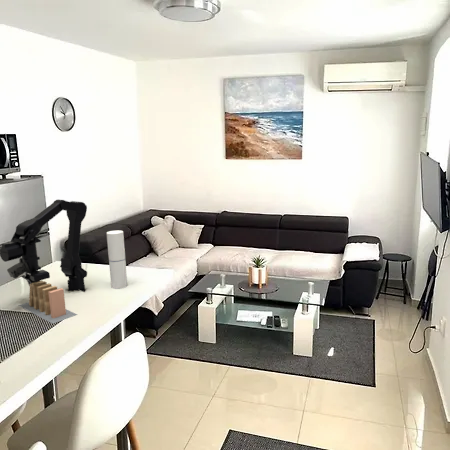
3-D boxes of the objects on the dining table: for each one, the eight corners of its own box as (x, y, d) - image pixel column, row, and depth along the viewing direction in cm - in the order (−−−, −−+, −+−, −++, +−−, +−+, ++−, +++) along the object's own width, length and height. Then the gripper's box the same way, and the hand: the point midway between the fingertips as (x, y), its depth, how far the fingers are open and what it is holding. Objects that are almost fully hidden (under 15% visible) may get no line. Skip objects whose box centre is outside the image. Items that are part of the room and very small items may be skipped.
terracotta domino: (51, 317, 164) (48, 291, 162) (63, 312, 167) (61, 288, 165) (53, 318, 163) (50, 292, 160) (66, 314, 166) (63, 289, 164)
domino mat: (18, 307, 176) (18, 305, 176) (42, 299, 184) (42, 297, 184) (52, 325, 158) (52, 323, 158) (77, 316, 166) (77, 314, 165)
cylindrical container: (113, 289, 193) (108, 234, 188) (109, 285, 199) (104, 231, 194) (129, 286, 196) (125, 232, 191) (125, 282, 203) (120, 229, 197)
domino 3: (39, 311, 170) (36, 286, 167) (51, 307, 173) (49, 283, 171) (41, 312, 168) (38, 287, 166) (54, 308, 172) (51, 284, 170)
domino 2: (34, 308, 172) (32, 284, 170) (46, 304, 176) (44, 281, 174) (36, 309, 171) (34, 285, 169) (48, 305, 175) (46, 282, 172)
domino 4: (45, 314, 167) (42, 289, 165) (57, 310, 170) (54, 285, 168) (47, 315, 165) (44, 290, 163) (59, 311, 169) (57, 286, 167)
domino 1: (28, 304, 175) (29, 283, 171) (40, 300, 179) (42, 280, 175) (31, 306, 174) (32, 286, 170) (43, 303, 178) (44, 282, 174)
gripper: (-2, 255, 173) (3, 293, 176) (19, 264, 161) (24, 304, 164) (26, 249, 181) (31, 285, 184) (48, 257, 169) (52, 295, 172)
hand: (34, 292), depth 176 cm, fingers closed
